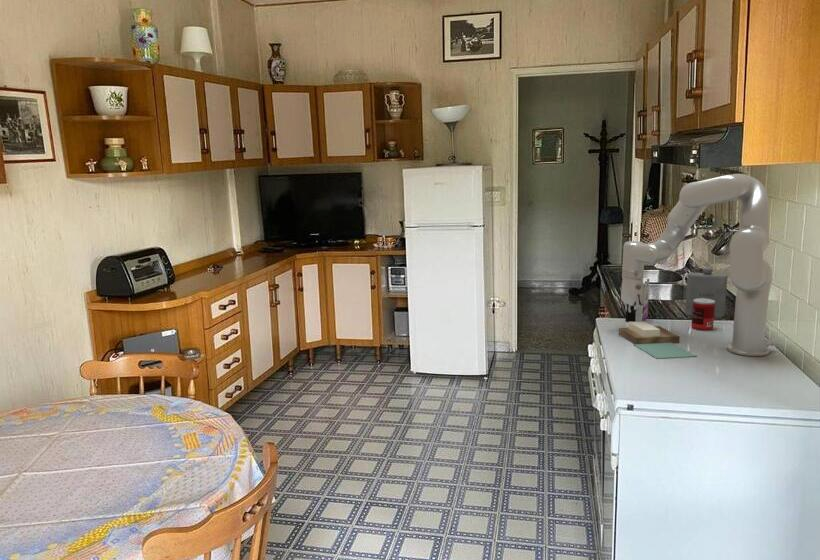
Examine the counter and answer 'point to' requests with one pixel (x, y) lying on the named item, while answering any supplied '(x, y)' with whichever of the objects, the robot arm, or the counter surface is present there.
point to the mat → (664, 350)
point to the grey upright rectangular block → (706, 290)
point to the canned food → (703, 314)
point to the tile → (644, 329)
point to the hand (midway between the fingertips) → (630, 322)
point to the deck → (637, 339)
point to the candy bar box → (643, 309)
